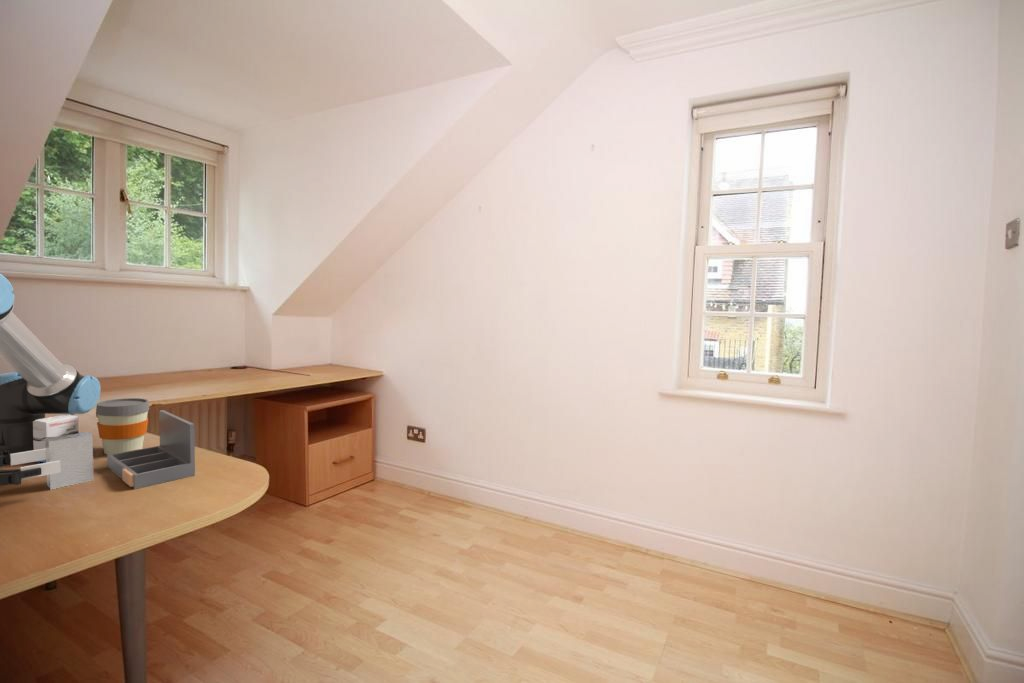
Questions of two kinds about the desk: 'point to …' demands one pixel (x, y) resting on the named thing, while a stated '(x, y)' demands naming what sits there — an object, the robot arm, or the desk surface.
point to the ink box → (53, 429)
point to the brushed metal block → (70, 459)
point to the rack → (159, 455)
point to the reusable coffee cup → (122, 424)
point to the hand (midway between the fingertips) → (53, 459)
